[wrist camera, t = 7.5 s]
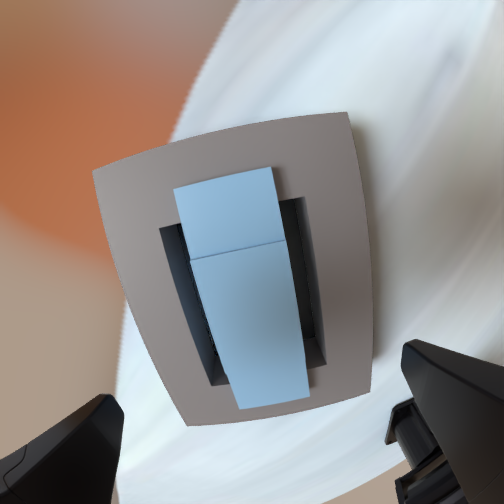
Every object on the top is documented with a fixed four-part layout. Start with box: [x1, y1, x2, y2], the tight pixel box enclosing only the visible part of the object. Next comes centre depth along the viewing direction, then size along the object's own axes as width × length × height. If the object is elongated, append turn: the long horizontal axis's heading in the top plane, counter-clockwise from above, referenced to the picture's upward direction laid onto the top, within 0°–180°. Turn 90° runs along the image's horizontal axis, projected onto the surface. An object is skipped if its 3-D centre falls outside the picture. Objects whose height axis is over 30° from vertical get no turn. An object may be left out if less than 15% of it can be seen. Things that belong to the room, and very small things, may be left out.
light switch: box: [92, 112, 373, 426], centre depth 14 cm, size 16×12×3 cm
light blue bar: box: [173, 167, 310, 409], centre depth 14 cm, size 4×12×4 cm, turn 12°
